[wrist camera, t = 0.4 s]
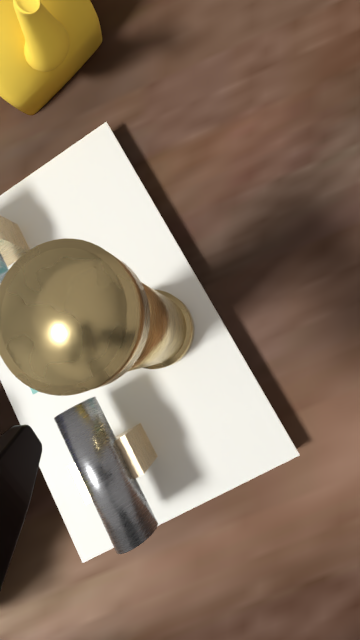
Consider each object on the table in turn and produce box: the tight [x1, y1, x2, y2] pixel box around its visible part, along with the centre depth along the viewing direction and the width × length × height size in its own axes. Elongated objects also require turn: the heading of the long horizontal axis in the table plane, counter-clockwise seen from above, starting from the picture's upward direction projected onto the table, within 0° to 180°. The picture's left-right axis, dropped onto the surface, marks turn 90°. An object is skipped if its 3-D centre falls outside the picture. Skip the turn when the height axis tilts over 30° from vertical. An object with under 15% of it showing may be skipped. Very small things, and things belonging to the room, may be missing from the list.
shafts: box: [0, 216, 158, 554], centre depth 21 cm, size 24×6×4 cm, turn 30°
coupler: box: [0, 238, 195, 396], centre depth 16 cm, size 5×5×12 cm
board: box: [0, 122, 299, 563], centre depth 24 cm, size 26×16×1 cm, turn 30°
